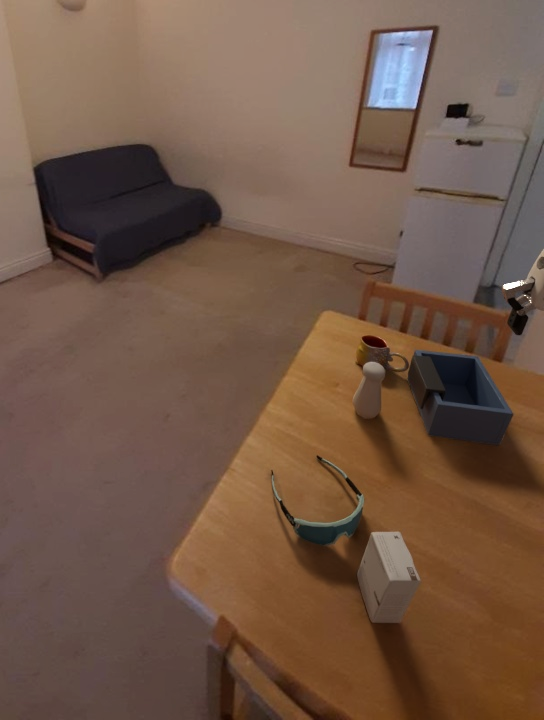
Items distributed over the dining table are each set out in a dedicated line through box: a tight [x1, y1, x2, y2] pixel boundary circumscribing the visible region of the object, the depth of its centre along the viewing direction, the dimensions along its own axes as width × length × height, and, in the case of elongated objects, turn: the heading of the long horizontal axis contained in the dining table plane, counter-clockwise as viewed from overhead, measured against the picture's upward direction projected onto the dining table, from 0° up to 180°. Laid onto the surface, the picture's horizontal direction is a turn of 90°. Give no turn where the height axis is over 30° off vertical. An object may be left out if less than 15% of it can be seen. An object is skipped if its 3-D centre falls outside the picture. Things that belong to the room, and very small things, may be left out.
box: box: [406, 349, 514, 446], centre depth 87 cm, size 13×16×9 cm
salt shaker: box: [352, 362, 386, 420], centre depth 86 cm, size 6×6×13 cm
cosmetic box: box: [356, 531, 422, 624], centre depth 57 cm, size 6×4×12 cm
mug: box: [355, 334, 410, 373], centre depth 100 cm, size 12×7×7 cm, turn 45°
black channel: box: [407, 354, 446, 409], centre depth 87 cm, size 4×10×6 cm, turn 168°
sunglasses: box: [270, 454, 365, 546], centre depth 72 cm, size 14×15×5 cm
